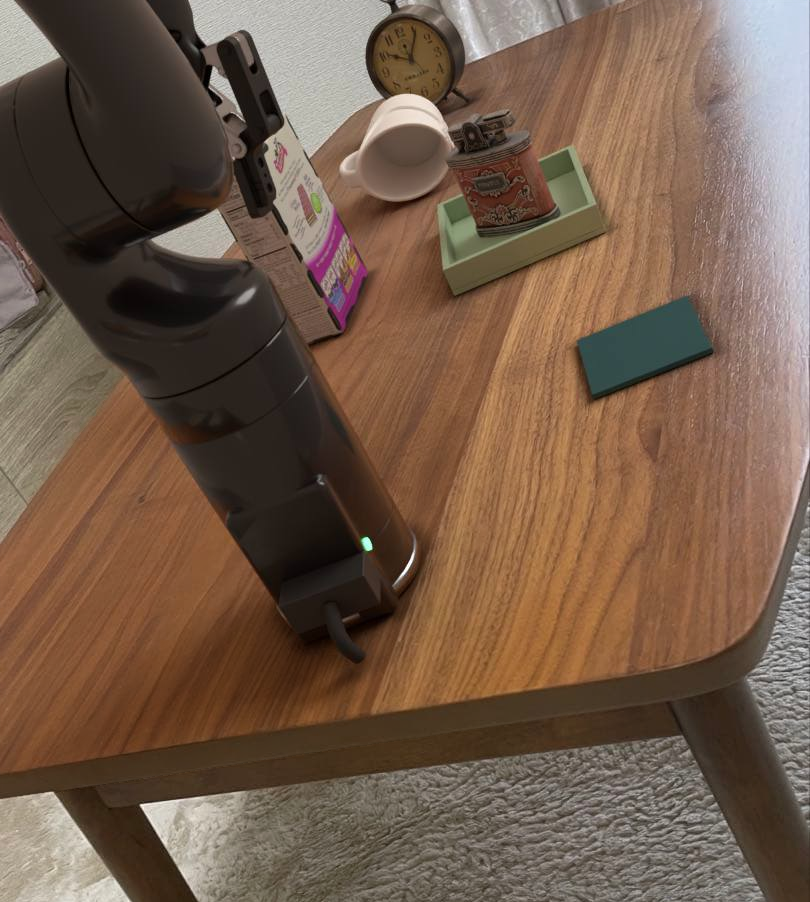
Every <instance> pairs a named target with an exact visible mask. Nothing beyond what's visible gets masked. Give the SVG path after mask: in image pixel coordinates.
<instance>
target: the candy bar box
mask: <svg viewBox="0 0 810 902" xmlns="http://www.w3.org/2000/svg"><path fill="white" fill-rule="evenodd" d="M281 112H282V115H283V117H284V126H283V127H282V128H281V129H280V130H279V131H277V132H276V133H275V134H273V135H272V136H271V137H269V138H268V139H267V140H266V141H265V142H264V144H263V153H264V156H265V159H266V162H267V165H268V168H269V171H270V173H271V176H272V179H273V182H274V185H275V188H276V199H275V200H274V201H273V209H272V210H271V211H270V212H269V213H268V214H267V215H265V216H264V217H261V218H256V219H252V218H251V217H250V215H249V213H248V210H247V208H246V205H245V202H244V199H243V197H242V194H241V191H240V188H239V186H238V183H237V180H236V177H235V175H234V181H233V185H232V189H231V192H230V194H229V196H228V198H227V199H226V201H225V202H224V203H223V204H222V205H221V206H220V207H219V208H217V209H216V210H217V211H218V212H219V214H220V216H221V218H222V219H223V221H224V223H225V225H226V227H227V228H228V230H229V231H230V233H231V236H233V238H234V241H235V242H236V244H237V245H238V247H239V249H240V251H241V252H242V254H243V255H244V257H245V259H246V260H248V261H251V262H253V263H255V264H257V265H259V266H260V267H262V268H263V269H264V270H265V271H266V272H267V274H268V275H269V276H270V278H271V279H272V281H273V283H274V284H275V286H276V288H277V290H278V291H279V293H280V295H281V297H282V299H283V300H284V302H285V304H286V307H287V308H288V310H289V312H290V313H291V315H292V317H293V319H294V321H295V322H296V324H297V326H298V328H299V330H300V332H301V333H302V335H303V337H304V339H305V341H306V342H307V344H308V346H309V345H313V344H316V343H318V342H320V341H321V342H322V341H323V340H326V339H329V338H331V337H334V336H338V335H340V334H344V332H345V330H346V328H347V326H348V323H349V321H350V319H351V316H352V314H353V311H354V309H355V306H356V304H357V301H358V298H359V296H360V294H361V291H362V289H363V287H364V283H365V281H366V279H367V278H368V274H369V270H368V268H367V267H366V265H365V263H364V261H363V259H362V257H361V255H360V253H359V251H358V250H357V248H356V245H355V244H354V241H353V240H352V237H351V236H350V234H349V232H348V230H347V228H346V227H345V225H344V222H343V220H342V219H341V217H340V216H339V214H338V211H337V209H336V207H335V206H334V203H333V202H332V200H331V198H330V196H329V195H328V192H327V191H326V188H325V187H324V184H323V183H322V181H321V179H320V177H319V175H318V173H317V171H316V169H315V167H314V165H313V163H312V162H311V159H310V158H309V155H308V154H307V152H306V150H305V148H304V146H303V144H302V141H300V138H299V137H298V135H297V132H296V131H295V129H294V127H293V124H292V123H291V121H290V119H289V118H288V116H287V113H286V111H281ZM232 157H233V156H232ZM233 160H235V158H234V157H233Z"/></svg>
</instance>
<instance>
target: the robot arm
mask: <svg viewBox="0 0 810 902" xmlns="http://www.w3.org/2000/svg"><path fill="white" fill-rule="evenodd" d="M13 1H14V3H15V4H16V5H17V6H18V7H19V8H20V9H21V10H22V11H23V13H24V14H25V15H26V16H27V17H28V18H29V19H30V21H31V22H32V24H34V25H35V26H36V28H37V29H38V30H39V31H40V32H41V33H42V35H43V36H44V37H45V38H46V40H47V41H48V43H50V45H51V46H52V47H53V49H54V50H55V51H56V53H57V54H58V55H59V57H56V58H55V59H53V60H51V61H49V62H47V63H45V64H43V65H40V66H38V67H36V68H34V69H33V70H31V71H28V72H26V73H23V74H22V75H20V76H18V77H16V78H14V79H12V80H10V81H8V82H6V83H4V84H2V85H1V86H0V219H1V220H2V222H3V223H4V225H5V226H6V228H7V229H8V231H9V232H10V234H11V235H12V237H13V239H15V241H16V243H17V244H18V245H19V247H20V248H21V249H22V251H23V253H24V254H25V256H27V258H28V259H29V261H30V262H31V264H32V265H33V266H34V267H35V269H36V270H37V271H38V272H39V274H40V275H41V276H42V278H43V279H44V280H45V282H46V283H47V285H48V286H49V287H50V288H51V291H52V292H54V294H55V295H56V296H57V298H58V299H59V301H60V302H61V303H62V304H63V306H64V307H65V308H66V310H67V311H68V313H69V315H70V316H71V317H72V318H73V319H74V321H75V322H76V323H77V325H78V327H79V328H80V329H81V331H82V332H83V333H84V335H85V336H86V338H87V340H89V342H90V343H91V344H92V346H93V347H94V348H95V349H96V351H97V352H98V353H99V354H100V355H101V356H102V357H103V358H104V359H106V361H108V362H109V363H111V364H112V365H113V366H114V367H116V368H117V369H118V370H120V371H121V372H122V373H123V374H124V375H125V377H127V379H128V381H129V382H130V383H131V385H132V386H133V388H134V389H135V391H136V392H137V393H138V395H139V397H140V398H141V400H142V402H143V404H144V405H145V406H146V408H147V409H148V410H149V412H150V414H151V416H152V417H153V418H154V420H155V421H156V423H157V424H158V426H159V428H160V429H161V431H162V432H163V434H164V435H165V437H166V438H167V440H168V442H169V443H170V445H171V446H172V448H173V449H174V451H175V452H176V454H177V456H178V458H179V459H180V460H181V462H182V463H183V465H184V466H185V468H186V469H187V471H188V473H189V474H190V475H191V477H192V479H193V480H194V482H195V483H196V485H197V486H198V488H199V489H200V491H201V492H202V493H203V495H204V497H205V498H206V500H207V502H208V503H209V505H210V506H211V508H212V509H213V510H214V512H215V514H216V515H217V517H218V518H219V520H220V521H221V523H222V524H223V526H224V528H225V529H226V530H227V532H228V533H229V535H230V536H231V538H232V540H233V541H234V542H235V545H236V547H238V549H239V550H240V552H241V554H242V555H243V557H244V558H245V560H246V561H247V563H248V564H249V566H250V567H251V568H252V570H253V571H254V574H255V575H256V576H257V577H258V579H259V581H260V582H261V584H262V585H263V586H264V588H265V590H266V591H267V592H268V594H269V596H270V597H271V598H272V600H273V602H274V603H275V605H276V609H277V611H278V613H279V614H280V615H281V617H282V619H283V621H284V622H285V623H286V625H288V626H289V628H291V629H292V630H293V632H294V633H295V635H296V636H297V638H298V640H299V642H301V643H302V645H303V644H308V643H310V642H314V641H316V640H319V639H322V638H324V637H327V636H329V637H330V639H331V641H332V643H333V645H334V647H335V648H336V650H337V651H338V652H339V653H340V654H341V655H342V656H343V657H345V658H346V659H347V660H349V661H351V662H352V663H353V664H355V665H357V664H361V663H362V662H363V661H365V658H366V656H367V654H366V650H364V649H362V648H361V647H360V646H358V645H357V644H356V643H354V642H353V640H352V639H351V638H350V636H349V635H348V632H347V629H349V628H352V627H354V626H356V625H360V624H363V623H366V622H368V621H371V620H373V619H376V618H379V617H381V616H384V615H387V614H389V613H392V612H395V611H396V610H397V609H398V607H399V598H400V596H401V595H402V593H403V592H404V591H405V590H406V589H407V588H408V586H409V585H410V584H411V583H412V581H413V579H414V578H415V576H416V574H417V572H418V570H419V567H420V564H421V561H422V559H421V558H422V547H421V544H420V542H419V541H418V539H417V537H416V535H415V533H414V531H413V530H412V529H411V527H410V526H409V525H408V524H407V522H406V520H405V518H404V517H403V514H402V513H401V511H400V509H399V508H398V505H397V504H396V502H395V500H394V498H393V497H392V495H391V493H390V492H389V490H388V488H387V486H386V484H385V482H384V481H383V478H382V477H381V475H380V474H379V472H378V469H377V468H376V466H375V464H374V463H373V461H372V459H371V458H370V456H369V454H368V452H367V450H366V448H365V446H364V445H363V443H362V441H361V439H360V438H359V435H358V433H357V432H356V430H355V428H354V426H353V424H352V423H351V421H350V420H349V417H348V415H347V413H346V412H345V410H344V408H343V406H342V405H341V402H340V401H339V399H338V397H337V395H336V393H335V392H334V390H333V389H332V387H331V385H330V383H329V381H328V380H327V377H326V376H325V374H324V372H323V371H322V370H323V369H322V368H321V367H320V365H319V363H318V361H317V358H315V355H314V354H313V352H312V350H311V348H310V346H309V345H308V344H307V342H306V341H305V339H304V337H303V335H302V333H301V332H300V330H299V328H298V326H297V324H296V322H295V321H294V319H293V317H292V315H291V313H290V312H289V310H288V308H287V307H286V304H285V302H284V300H283V299H282V297H281V295H280V293H279V291H278V290H277V288H276V286H275V284H274V283H273V281H272V279H271V278H270V276H269V275H268V274H267V272H266V271H265V270H264V269H263V268H262V267H260V266H259V265H257V264H255V263H253V262H251V261H248V260H247V259H242V258H232V257H231V258H229V257H227V258H226V257H224V258H223V257H220V258H219V257H204V256H203V257H202V256H194V255H189V254H185V253H181V252H177V251H175V250H171V249H169V248H166V247H164V246H161V245H160V244H158V243H157V242H155V241H153V240H154V239H155V238H157V237H160V236H162V235H165V234H167V233H168V232H172V231H174V230H177V229H180V228H182V227H184V226H187V225H188V224H191V223H193V222H195V221H198V220H199V219H201V218H204V217H205V216H207V215H209V214H211V213H213V212H214V211H216V210H218V209H217V208H219V207H220V206H221V205H222V204H223V203H224V202H225V201H226V199H227V198H228V196H229V194H230V192H231V189H232V185H233V181H234V175H235V177H236V180H237V183H238V186H239V188H240V191H241V194H242V197H243V199H244V202H245V205H246V208H247V210H248V213H249V215H250V217H251V218H252V219H256V218H261V217H264V216H265V215H267V214H268V213H269V212H270V211H271V210H272V209H273V201H274V200H275V199H276V188H275V185H274V182H273V179H272V176H271V173H270V171H269V168H268V165H267V162H266V159H265V156H264V153H263V144H264V142H265V141H266V140H267V139H268V138H269V137H271V136H272V135H273V134H275V133H276V132H277V131H279V130H280V129H281V128H282V127H283V126H284V117H283V115H282V112H283V111H282V109H281V108H280V105H279V102H278V99H277V96H276V94H275V91H274V90H273V89H274V88H273V87H272V84H271V82H270V79H269V77H268V74H267V72H266V69H265V67H264V64H263V62H262V59H261V56H260V54H259V51H258V49H257V46H256V44H255V41H254V39H253V36H252V34H251V33H250V32H249V31H247V30H245V29H239V30H237V31H235V32H232V33H230V34H229V35H227V36H225V37H224V38H223V39H221V40H219V41H216V42H212V43H210V44H208V45H207V44H206V43H205V42H204V40H202V38H201V37H200V35H199V34H198V32H197V30H196V27H195V22H194V21H195V20H194V13H193V10H192V7H191V4H190V1H189V0H13ZM213 68H215V69H216V70H217V73H218V74H219V76H221V77H222V78H223V79H226V80H227V81H228V83H229V86H230V87H231V88H230V89H231V90H232V93H233V95H234V99H235V100H236V103H237V106H238V108H239V109H240V112H239V111H238V110H237V106H236V104H235V103H234V102H233V101H232V100H231V99H230V98H228V97H227V96H226V95H225V94H224V93H222V92H221V91H220V90H219V89H218V88H216V87H215V86H214V85H213V84H212V83H211V77H212V74H213ZM232 156H233V157H234V158H235V160H233V157H232ZM152 239H153V240H152Z"/></svg>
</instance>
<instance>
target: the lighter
mask: <svg viewBox="0 0 810 902" xmlns="http://www.w3.org/2000/svg"><path fill="white" fill-rule="evenodd" d="M515 124H516V119H515V117H514V114H513V111H512V110H509V109H508V108H505V109H501V110H497V111H493V112H489V113H486V114H485V116H483V115H482V114H481V113H478V112H475V113H472V114H471V115H470V116H469V117H468V118H467V119H466V120H465V121H463V122H458V123H455V124H452V125H451V126H450V127H448V130H447V132H448V134H449V136H450V139H451V141H452V142H453V143H454V148H453V149H451V152H449V153H448V154H447V155H446V157H445V160H446V163H447V165H448V167H449V169H451V171H452V173H453V175H454V177H455V180H456V182H457V184H458V187H459V188H460V191H461V194H463V196H464V198H465V200H466V203H467V205H468V207H469V210H470V212H471V214H472V216H473V219H474V221H475V223H476V226H475V229H476V231H477V233H478V235H479V237H480V238H493V237H502V236H509V235H514V234H519V233H524V232H526V231H528V230H531V229H533V228H535V227H538V226H540V225H542V224H545V223H547V222H549V221H552V220H554V219H556V218H558V217H560V216H561V212H560V209H559V207H558V204H557V203H556V202H554V200H553V198H552V195H551V193H550V190H549V188H548V185H547V183H546V180H545V178H544V175H543V173H542V170H541V168H540V165H539V163H538V160H539V159H538V158H537V156H536V155H537V154H536V153H535V150H534V148H533V145H532V143H533V139H532V137H531V134H530V131H529V130H518V131H513V132H506V131H505V130H507V129H511V128H512V127H513V126H515Z"/></svg>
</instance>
